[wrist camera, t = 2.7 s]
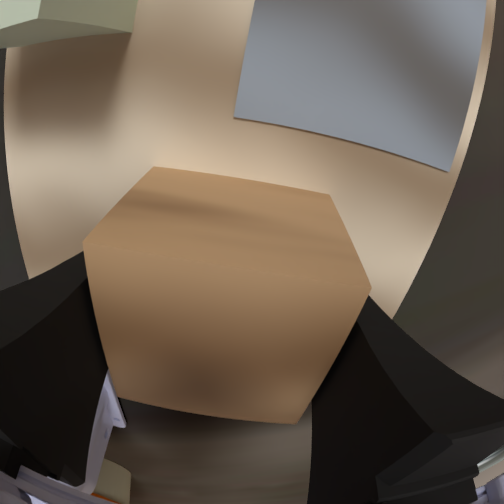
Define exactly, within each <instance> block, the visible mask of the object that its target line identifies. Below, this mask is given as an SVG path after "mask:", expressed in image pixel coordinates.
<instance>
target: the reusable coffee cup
mask: <svg viewBox="0 0 504 504" xmlns="http://www.w3.org/2000/svg"><path fill="white" fill-rule="evenodd" d="M130 483H131V473H130V472H129V471H128V470H126V469H125V468H123V467H122V466H120V465H118V464H116V463H114V462H112V461H110V460H107V459H105V458H104V459H103V462H102V466H101V470H100V473H99V477H98V481H97V484H96V487H95V489H94V491H93V492H92V493H91V495H92V496H95V497H98V498H101V499H104V500H107V501H111V502H114V503H117V504H129V499H130Z"/></svg>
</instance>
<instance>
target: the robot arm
mask: <svg viewBox="0 0 504 504" xmlns="http://www.w3.org/2000/svg"><path fill="white" fill-rule="evenodd" d="M113 426H117V427H121V428H124V427H126V421H125V418H124V415H123V412H122V409H121V406H120V403H119V400H118V397H117V394H116V391H115V388H114V385H113V382H112V378H111V375H110V372H109V368H108V365H107V361H106V358H105V354H104V350H103V346H102V342H101V338H100V334H99V330H98V326H97V322H96V317H95V312H94V308H93V303H92V298H91V293H90V287H89V282H88V276H87V270H86V264H85V257H84V251H82V252H80V253H79V254H77V255H75V256H73V257H71V258H69V259H68V260H66V261H64V262H62V263H61V264H59V265H57V266H55V267H53V268H52V269H50V270H48V271H46V272H44V273H42V274H40V275H37V276H35V277H33V278H31V279H29V280H27V281H24V282H22V283H20V284H17V285H15V286H12V287H9V288H7V289H4V290H2V291H0V504H117V503H114V502H111V501H107V500H104V499H101V498H98V497H95V496H92V495H91V493H92V492H93V491H94V489H95V487H96V484H97V481H98V477H99V473H100V470H101V466H102V462H103V459H104V455H105V452H106V448H107V445H108V441H109V438H110V434H111V431H112V428H113ZM503 444H504V399H502V398H500V397H498V396H496V395H494V394H492V393H490V392H488V391H486V390H484V389H482V388H480V387H478V386H477V385H475V384H473V383H472V382H470V381H469V380H467V379H465V378H464V377H462V376H461V375H459V374H457V373H456V372H455V371H453V370H452V369H450V368H449V367H447V366H446V365H444V364H443V363H442V362H441V361H439V360H438V359H437V358H435V357H434V356H433V355H431V354H430V353H429V352H427V351H426V350H425V349H424V348H422V347H421V346H420V345H419V344H418V343H417V342H415V341H414V340H413V339H412V338H411V337H410V336H409V335H408V334H406V333H405V332H404V331H403V330H402V329H401V328H400V327H399V326H398V325H397V324H396V323H395V322H394V321H393V320H392V319H391V318H390V317H389V316H388V315H387V314H386V313H385V312H384V311H383V310H382V309H381V308H380V307H379V306H378V305H377V304H376V302H375V301H374V300H373V299H372V298H371V297H370V296H369V295H368V297H367V299H366V301H365V303H364V305H363V307H362V309H361V311H360V313H359V315H358V317H357V319H356V321H355V323H354V325H353V327H352V329H351V331H350V333H349V335H348V337H347V339H346V341H345V342H344V344H343V346H342V348H341V350H340V352H339V353H338V355H337V357H336V359H335V361H334V362H333V364H332V366H331V368H330V370H329V371H328V373H327V375H326V376H325V378H324V380H323V382H322V383H321V385H320V387H319V388H318V390H317V392H316V393H315V395H314V397H313V398H312V453H311V469H310V483H309V492H308V500H307V504H504V473H503V474H501V475H499V476H497V477H496V478H494V479H492V480H491V481H489V482H488V483H487V484H486V485H484V486H481V487H479V488H475V484H474V481H473V478H474V477H476V476H478V474H479V470H478V466H477V464H478V463H479V462H481V461H482V460H483V459H485V458H486V457H488V456H489V455H490V454H492V453H493V452H495V451H496V450H497V449H499V448H500V447H501V446H502V445H503Z"/></svg>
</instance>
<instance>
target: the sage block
mask: <svg viewBox="0 0 504 504" xmlns="http://www.w3.org/2000/svg"><path fill="white" fill-rule="evenodd" d="M137 3H138V0H0V49H1V48H12V47H23V46H27V45H32V44H37V43H42V42H48V41H53V40H60V39H66V38H74V37H82V36H91V35H102V34H116V33H132V31H133V25H134V19H135V13H136V8H137Z"/></svg>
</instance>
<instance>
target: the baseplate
mask: <svg viewBox="0 0 504 504" xmlns="http://www.w3.org/2000/svg"><path fill="white" fill-rule="evenodd" d="M495 6H496V0H138V3H137V8H136V13H135V19H134V25H133V31H132V33H116V34H102V35H91V36H82V37H74V38H66V39H60V40H53V41H48V42H42V43H37V44H32V45H27V46H23V47H12V48H7V53H6V65H5V82H4V130H5V147H6V160H7V170H8V178H9V186H10V193H11V200H12V206H13V212H14V217H15V222H16V227H17V232H18V237H19V241H20V246H21V250H22V254H23V258H24V262H25V266H26V269H27V273H28V277H29V279H31V278H33V277H35V276H37V275H40V274H42V273H44V272H46V271H48V270H50V269H52V268H53V267H55V266H57V265H59V264H61V263H62V262H64V261H66V260H68V259H69V258H71V257H73V256H75V255H77V254H79V253H80V252H82V251H84V250H83V243H82V241H83V240H84V239H85V238H86V237H87V236H88V234H89V233H90V232H91V231H92V230H93V229H94V228H95V226H96V225H97V224H98V223H99V222H100V221H101V220H102V219H103V218H104V216H105V215H106V214H107V213H108V212H109V211H110V210H111V209H112V208H113V207H114V206H115V205H116V204H117V203H118V201H119V200H120V199H121V198H122V197H123V196H124V195H125V194H126V193H127V192H128V191H129V190H130V189H131V188H132V187H133V186H134V185H135V184H136V183H137V182H138V181H139V180H140V179H141V178H142V177H143V176H144V175H145V174H146V173H147V172H148V171H149V170H150V169H151V168H152V167H153V166H156V167H165V168H173V169H181V170H188V171H196V172H203V173H210V174H217V175H224V176H230V177H236V178H243V179H249V180H255V181H261V182H266V183H272V184H278V185H283V186H289V187H294V188H299V189H304V190H309V191H314V192H319V193H324V194H329V195H330V196H331V198H332V200H333V202H334V204H335V206H336V209H337V211H338V213H339V215H340V217H341V219H342V221H343V223H344V225H345V227H346V230H347V232H348V234H349V236H350V238H351V240H352V243H353V245H354V247H355V249H356V252H357V254H358V256H359V258H360V261H361V263H362V265H363V268H364V270H365V272H366V275H367V277H368V279H369V282H370V284H371V287H372V289H371V291H370V293H369V296H370V297H371V298H372V299H373V300H374V301H375V302H376V304H377V305H378V306H379V307H380V308H381V309H382V310H383V311H384V312H385V313H386V314H387V315H388V316H389V317H390V318H391V319H392V318H393V317H394V315H395V313H396V311H397V310H398V308H399V306H400V304H401V302H402V301H403V299H404V297H405V295H406V293H407V291H408V289H409V287H410V285H411V284H412V282H413V280H414V278H415V276H416V274H417V272H418V270H419V268H420V266H421V264H422V261H423V259H424V257H425V255H426V253H427V251H428V249H429V247H430V244H431V242H432V240H433V238H434V235H435V233H436V231H437V229H438V226H439V224H440V222H441V219H442V217H443V214H444V212H445V209H446V207H447V204H448V202H449V199H450V197H451V194H452V192H453V189H454V186H455V183H456V181H457V178H458V175H459V172H460V169H461V166H462V163H463V160H464V157H465V154H466V151H467V148H468V145H469V141H470V138H471V135H472V131H473V128H474V124H475V120H476V117H477V113H478V109H479V105H480V101H481V96H482V92H483V87H484V83H485V78H486V73H487V67H488V62H489V56H490V50H491V43H492V36H493V27H494V18H495Z"/></svg>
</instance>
